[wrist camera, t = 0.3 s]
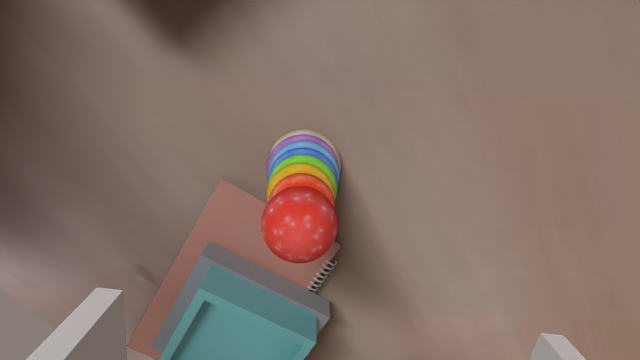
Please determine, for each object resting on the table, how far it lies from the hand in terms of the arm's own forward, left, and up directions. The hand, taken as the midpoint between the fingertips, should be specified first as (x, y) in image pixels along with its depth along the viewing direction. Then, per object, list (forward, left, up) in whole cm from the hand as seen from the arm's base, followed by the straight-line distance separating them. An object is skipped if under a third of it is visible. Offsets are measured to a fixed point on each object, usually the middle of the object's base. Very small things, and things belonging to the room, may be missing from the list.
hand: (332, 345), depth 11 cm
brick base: (+2, -23, -26) cm, 35 cm away
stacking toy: (-1, -3, -28) cm, 28 cm away
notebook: (0, -22, -29) cm, 36 cm away
